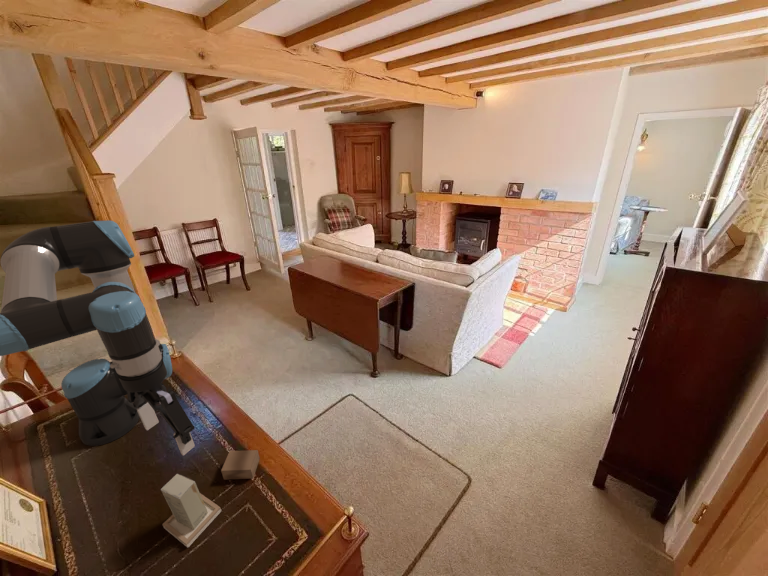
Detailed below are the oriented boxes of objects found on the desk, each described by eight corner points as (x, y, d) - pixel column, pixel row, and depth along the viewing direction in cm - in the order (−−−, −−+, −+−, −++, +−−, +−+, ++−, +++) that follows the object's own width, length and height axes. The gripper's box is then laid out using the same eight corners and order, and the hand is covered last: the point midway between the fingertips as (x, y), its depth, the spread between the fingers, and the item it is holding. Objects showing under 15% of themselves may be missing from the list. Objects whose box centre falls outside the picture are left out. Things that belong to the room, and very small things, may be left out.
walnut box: (224, 480, 88) (221, 470, 86) (232, 460, 93) (229, 451, 91) (253, 478, 88) (250, 469, 86) (259, 459, 94) (257, 450, 92)
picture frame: (164, 528, 77) (162, 524, 76) (198, 494, 84) (196, 490, 83) (187, 547, 73) (186, 544, 72) (221, 511, 80) (220, 507, 80)
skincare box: (208, 512, 79) (197, 481, 74) (194, 530, 75) (180, 499, 70) (189, 503, 81) (177, 472, 76) (174, 520, 77) (159, 489, 72)
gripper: (86, 356, 66) (121, 427, 75) (158, 400, 56) (188, 476, 65) (126, 338, 72) (154, 406, 81) (197, 375, 62) (220, 447, 71)
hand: (169, 437), depth 73 cm, fingers open, 13 cm apart
